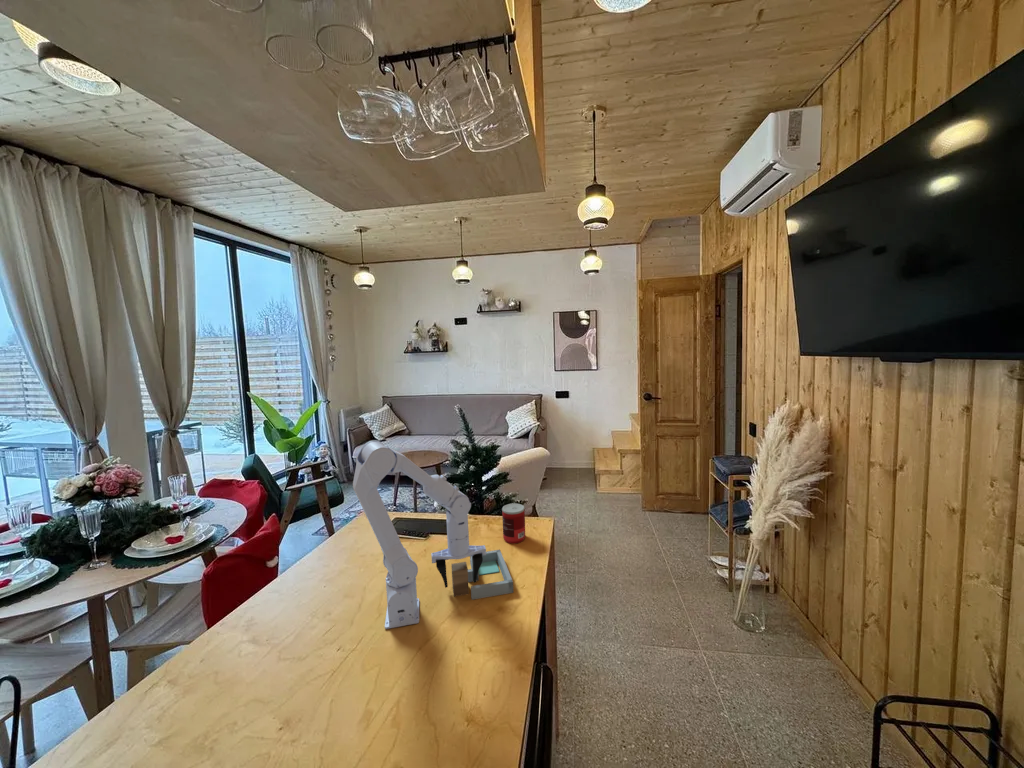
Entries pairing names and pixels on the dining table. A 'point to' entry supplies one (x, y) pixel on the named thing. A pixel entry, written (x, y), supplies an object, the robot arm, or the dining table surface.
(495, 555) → the grey open rectangular frame
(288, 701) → the dining table surface
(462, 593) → the block
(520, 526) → the canned food
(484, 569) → the pad
